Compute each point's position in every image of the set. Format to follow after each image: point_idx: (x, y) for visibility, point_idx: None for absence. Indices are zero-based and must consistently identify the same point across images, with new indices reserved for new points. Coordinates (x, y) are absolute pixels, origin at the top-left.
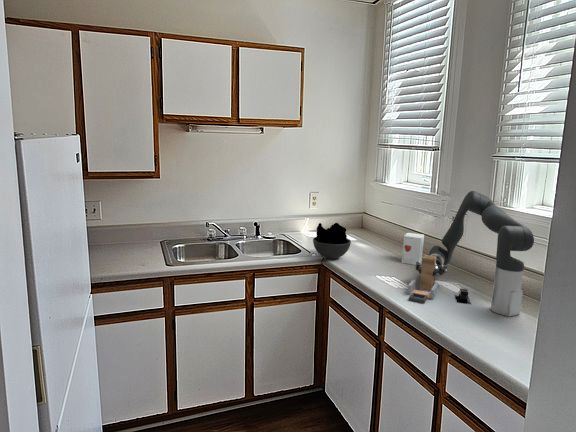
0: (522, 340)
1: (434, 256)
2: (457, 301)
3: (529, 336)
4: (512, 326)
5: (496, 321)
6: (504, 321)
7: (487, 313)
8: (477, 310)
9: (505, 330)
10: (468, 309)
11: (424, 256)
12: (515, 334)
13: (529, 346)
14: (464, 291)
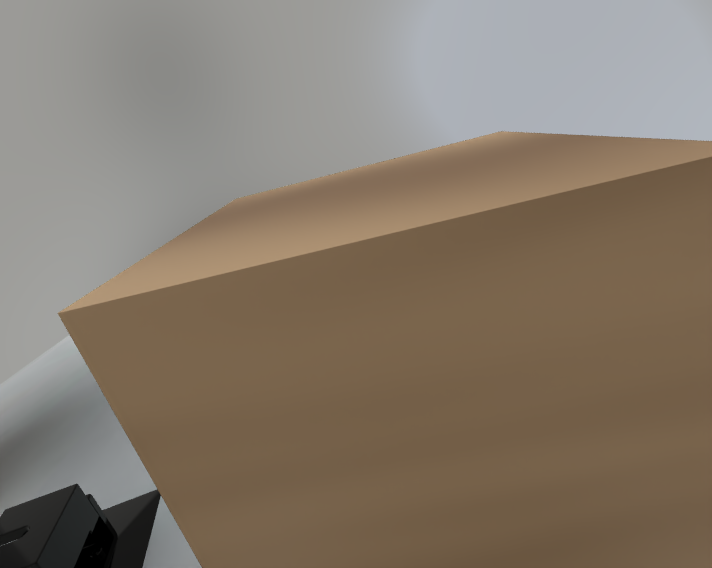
0: (56, 352)
1: (174, 275)
2: (150, 508)
3: (5, 381)
4: (7, 407)
5: (50, 407)
6: (6, 427)
7: (32, 457)
8: (72, 458)
9: (67, 369)
10: (126, 438)
11: (518, 143)
12: (50, 367)
13: (61, 340)
14: (38, 500)
